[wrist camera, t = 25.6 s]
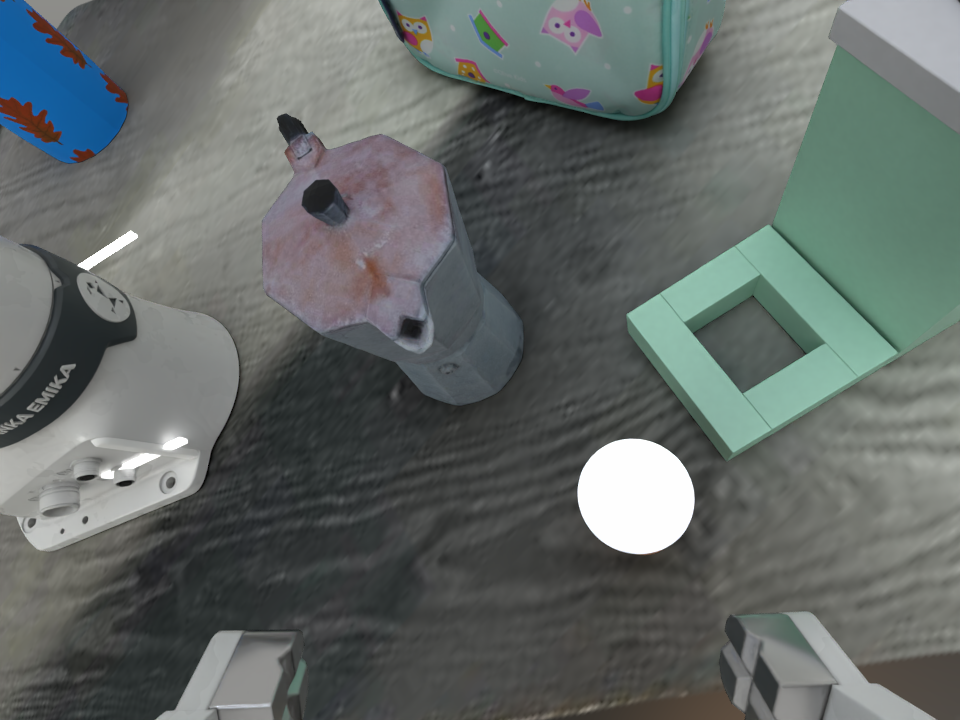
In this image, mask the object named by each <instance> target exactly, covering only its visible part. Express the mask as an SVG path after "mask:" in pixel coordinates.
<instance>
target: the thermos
mask: <svg viewBox="0 0 960 720" xmlns="http://www.w3.org/2000/svg"><path fill="white" fill-rule="evenodd" d="M127 109H128V101H127V96H126V93H125V92H124V91H123V90H122V89H121V88H120V87H119V86H118V85H117V84H116V83H114V82H113V81H112V80H111V79H110V78H109V77H108V76H107V75H106V74H105V73H104V72H103V71H102V70H101V69H100V68H99V67H98V66H97V65H96V64H95V63H94V62H93V61H92V60H91V59H90V58H89V57H87V56H86V55H85V54H84V53H83V52H82V51H81V50H79V49H78V48H77V47H76V46H75V45H74V44H73V43H72V42H70V41H69V40H68V39H67V38H66V37H65V36H64V35H62V34H61V33H60V32H59V31H58V30H57V29H56V28H55V27H53V26H52V25H51V24H50V23H49V22H48V21H47V20H45V19H44V18H43V17H42V16H41V15H40V14H39V13H38V12H36V11H35V10H34V9H33V8H32V7H31V6H30V5H28V4H27V3H26V2H25V1H24V0H0V124H1V125H3V126H4V127H6V128H7V129H9V130H10V131H12V132H13V133H15V134H16V135H18V136H19V137H21V138H22V139H24V140H26V141H27V142H29V143H31V144H32V145H34V146H36V147H37V148H39V149H41V150H42V151H44V152H46V153H47V154H49V155H51V156H52V157H54V158H56V159H58V160H59V161H62V162H65V163H68V164H69V163H77V162H82V161H84V160H86V159H88V158H90V157H92V156H95V155H96V154H97V153H98V152H100V151H101V150H102V149H103V148H105V147H106V146H107V145H108V144H109V143H110V142H111V141H112V139H113V138H114V137H115V136H116V134H117V133H118V132H119V130H120V128H121V126H122V124H123V122H124V120H125V118H126V114H127Z"/></svg>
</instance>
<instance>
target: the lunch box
mask: <svg viewBox="0 0 960 720" xmlns="http://www.w3.org/2000/svg"><path fill="white" fill-rule="evenodd" d="M378 1H379V3H380V5H381V7H382V9H383V11H384V13H385V14H386V16H387V18H388V19H389V21H390V23H391V25H392V26H393V29H394V31H395V33H396V35H397V37H398V38H399V39H400V40H401V41H402V42H403V43H404V44H405V46H406V47H407V48H408V50H409V51H410V52H411V54H412V55H413V56H414V57H415V58H416V59H417V60H418V61H419V62H421V63H422V64H423V65H424V66H426V67H427V68H429V69H430V70H432V71H434V72H436V73H439V74H441V75H444V76H448V77H451V78H455V79H459V80H462V81H466V82H470V83H474V84H478V85H482V86H486V87H489V88H493V89H497V90H500V91H504V92H507V93H511V94H514V95H517V96H521V97H524V98H525V100H529V101H533V102H540V103H546V104H551V105H556V106H560V107H564V108H569V109H573V110H577V111H581V112H585V113H589V114H593V115H597V116H601V117H605V118H609V119H614V120H624V121H632V120H640V119H644V118H647V117H650V116H652V115H655V114H659V113H661V112H662V111H664V110H665V109H666V108H667V107H668V106H669V105H670V104H671V102H672V101H673V99H674V96H675V94H676V92H677V91H678V89H679V88H680V87H681V86H682V84H683V83H684V81H685V80H686V78H687V77H688V75H689V74H690V72H691V71H692V69H693V68H694V66H695V65H696V63H697V62H698V60H699V59H700V57H701V55H702V54H703V52H704V51H705V49H706V47H707V46H708V44H709V43H710V42H711V41H712V39H713V38H714V37H715V35H716V34H717V32H718V29H719V27H720V25H721V21H722V17H723V14H724V8H725V2H726V0H378Z"/></svg>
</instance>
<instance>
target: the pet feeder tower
mask: <svg viewBox="0 0 960 720" xmlns="http://www.w3.org/2000/svg"><path fill="white" fill-rule="evenodd" d="M829 39H831V40H832V41H833V42H835V43H836V44H837V47H836V50H835V53H834V56H833V58H832V61H831V64H830V67H829V70H828V72H827V75H826V78H825V81H824V83H823V86H822V89H821V92H820V94H819V97H818V100H817V103H816V105H815V108H814V111H813V114H812V116H811V119H810V122H809V125H808V128H807V130H806V133H805V136H804V139H803V141H802V144H801V147H800V150H799V152H798V155H797V158H796V161H795V163H794V166H793V169H792V172H791V174H790V177H789V180H788V183H787V185H786V188H785V191H784V194H783V197H782V199H781V202H780V205H779V208H778V210H777V213H776V216H775V219H774V221H773V224H772V228H773V229H774V230H775V231H776V232H777V233H778V234H779V235H780V236H781V237H782V238H783V239H784V240H785V241H786V242H787V243H788V244H789V245H790V246H791V247H792V248H793V249H794V250H795V251H796V252H797V253H798V254H799V255H800V256H801V257H802V258H803V259H804V260H805V261H806V262H807V263H808V264H809V265H810V266H811V267H812V268H813V269H814V270H815V271H816V272H817V273H818V274H819V275H821V276H822V277H823V278H824V279H825V280H826V281H827V282H828V283H829V284H830V285H831V286H832V287H833V288H834V289H835V290H836V291H837V292H838V293H839V294H840V295H841V296H842V297H843V298H844V299H845V300H846V301H847V302H848V303H849V304H850V305H851V306H852V307H853V308H854V309H855V310H856V311H857V312H858V313H859V314H860V315H861V316H862V317H863V318H864V319H865V320H866V321H867V322H868V323H869V324H870V325H871V326H872V327H873V328H874V329H875V330H876V331H877V332H878V333H879V334H880V335H881V336H882V337H883V338H884V339H885V340H886V341H887V342H888V343H889V344H890V345H891V346H892V347H893V348H894V349H895V350H896V351H897V352H898V354H897V355H896V356H894V357H893V358H892V359H891V360H889V361H888V362H887V363H886V364H885V365H883V366H886V365H887V364H889V363H891V362H892V361H894V360H895V359H897V358H899V357H900V356H902V355H904V354H905V353H907V352H909V351H910V350H912V349H914V348H915V347H917V346H919V345H920V344H922V343H924V342H925V341H927V340H929V339H930V338H932V337H933V336H935V335H937V334H938V333H940V332H942V331H943V330H945V329H947V328H948V327H950V326H952V325H953V324H955V323H957V322H958V321H960V0H848V1H846V2H845V3H843V4H842V5H840V6H839V8H838V10H837V13H836V16H835V19H834V22H833V25H832V27H831V30H830V33H829Z"/></svg>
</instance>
